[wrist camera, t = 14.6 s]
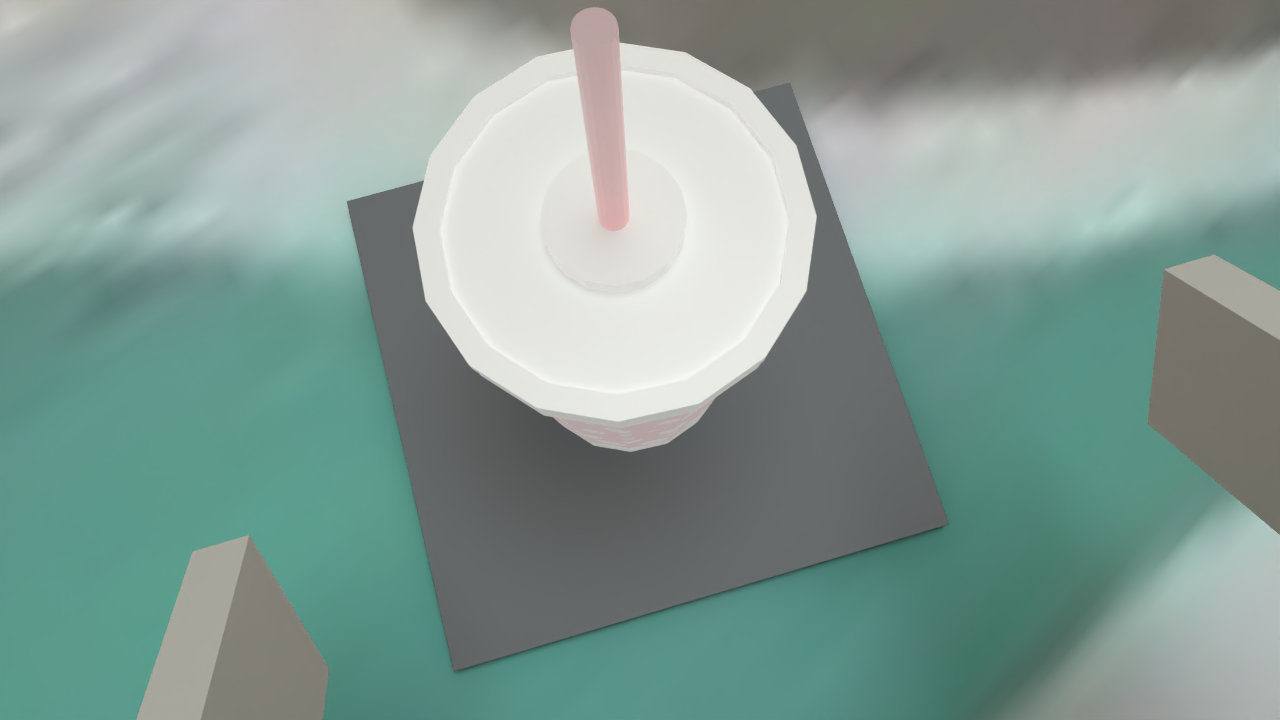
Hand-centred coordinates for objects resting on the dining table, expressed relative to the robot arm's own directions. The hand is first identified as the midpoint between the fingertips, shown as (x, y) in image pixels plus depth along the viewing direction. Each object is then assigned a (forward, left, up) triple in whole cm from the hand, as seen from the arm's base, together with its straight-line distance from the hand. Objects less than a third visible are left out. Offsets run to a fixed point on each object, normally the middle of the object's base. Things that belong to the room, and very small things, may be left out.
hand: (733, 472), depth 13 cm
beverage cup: (-1, +4, -9) cm, 10 cm away
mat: (0, +4, -9) cm, 10 cm away
